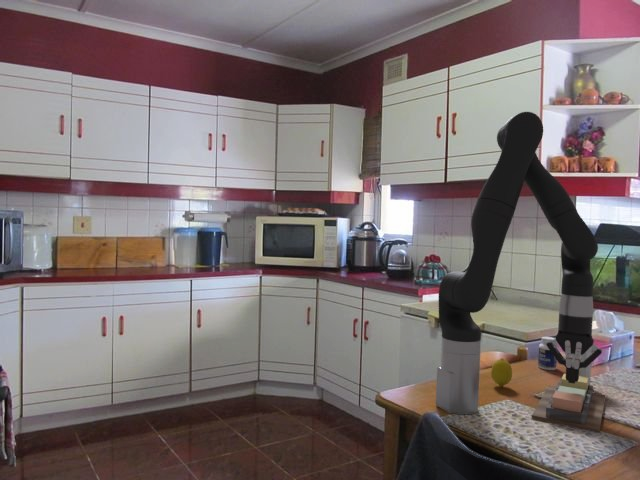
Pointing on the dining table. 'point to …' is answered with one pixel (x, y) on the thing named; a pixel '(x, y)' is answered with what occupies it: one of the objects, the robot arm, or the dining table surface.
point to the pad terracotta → (567, 401)
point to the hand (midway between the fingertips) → (572, 382)
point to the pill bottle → (546, 355)
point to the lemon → (501, 372)
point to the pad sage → (573, 391)
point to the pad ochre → (576, 383)
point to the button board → (583, 420)
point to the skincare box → (586, 371)
